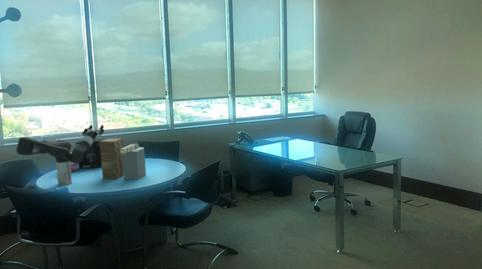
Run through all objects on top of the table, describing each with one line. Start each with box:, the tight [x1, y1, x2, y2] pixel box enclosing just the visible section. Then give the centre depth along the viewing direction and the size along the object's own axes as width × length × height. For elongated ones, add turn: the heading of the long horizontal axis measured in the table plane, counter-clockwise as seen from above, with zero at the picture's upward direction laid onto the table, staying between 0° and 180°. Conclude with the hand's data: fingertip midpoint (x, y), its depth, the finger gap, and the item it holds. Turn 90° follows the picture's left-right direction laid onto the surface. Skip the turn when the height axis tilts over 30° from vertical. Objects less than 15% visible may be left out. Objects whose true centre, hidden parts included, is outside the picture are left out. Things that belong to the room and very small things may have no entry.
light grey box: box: [122, 147, 147, 180], centre depth 302 cm, size 14×12×23 cm
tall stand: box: [100, 138, 124, 180], centre depth 304 cm, size 14×12×30 cm
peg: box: [120, 143, 140, 154], centre depth 294 cm, size 22×5×4 cm, turn 170°
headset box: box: [75, 138, 105, 170], centre depth 344 cm, size 22×12×26 cm, turn 101°
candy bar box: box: [69, 151, 79, 173], centre depth 329 cm, size 11×5×16 cm, turn 129°
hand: (97, 125), depth 279 cm, fingers open, 8 cm apart
